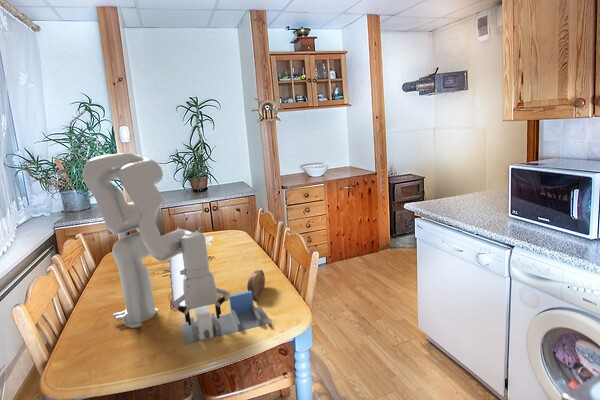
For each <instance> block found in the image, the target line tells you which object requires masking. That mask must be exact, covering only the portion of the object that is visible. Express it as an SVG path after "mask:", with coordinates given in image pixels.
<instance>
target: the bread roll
mask: <svg viewBox="0 0 600 400" xmlns="http://www.w3.org/2000/svg"><path fill="white" fill-rule="evenodd" d="M226 291H227V290H226ZM229 295H231V293H230V292H229V291H227V296H226V298H225V300H224V302H225V301H227V300H229ZM221 296H222V294H219V293H217V297H218V300H219V298H220V297H221Z"/></svg>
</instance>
